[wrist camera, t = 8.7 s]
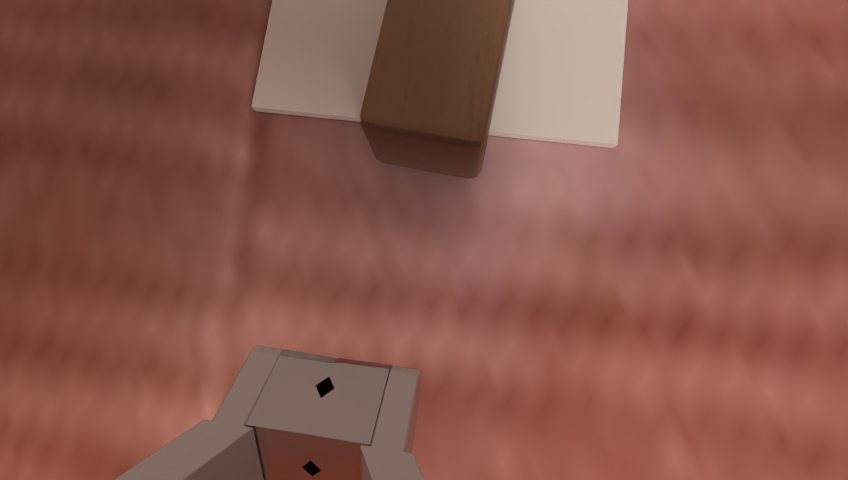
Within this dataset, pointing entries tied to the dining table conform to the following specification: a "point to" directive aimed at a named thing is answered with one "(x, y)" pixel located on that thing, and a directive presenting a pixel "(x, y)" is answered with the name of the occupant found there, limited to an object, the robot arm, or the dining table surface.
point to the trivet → (519, 79)
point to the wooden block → (436, 83)
